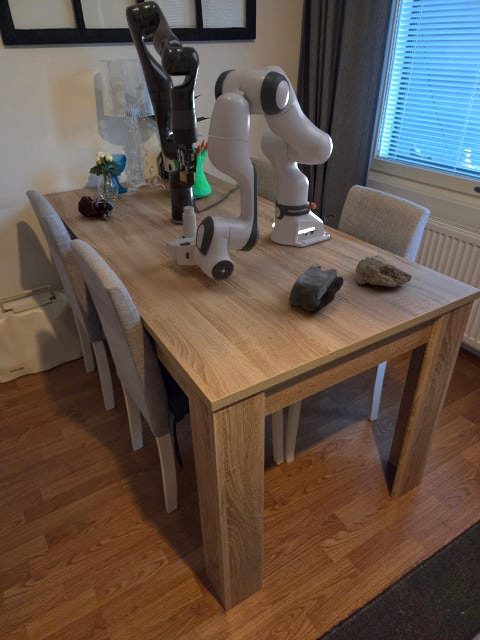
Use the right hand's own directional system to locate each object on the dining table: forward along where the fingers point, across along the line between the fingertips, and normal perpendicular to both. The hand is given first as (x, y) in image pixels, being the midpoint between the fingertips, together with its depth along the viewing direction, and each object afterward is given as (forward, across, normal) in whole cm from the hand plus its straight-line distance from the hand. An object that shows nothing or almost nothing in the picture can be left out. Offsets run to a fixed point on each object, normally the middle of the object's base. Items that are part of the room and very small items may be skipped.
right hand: (189, 236), depth 151 cm
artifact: (-42, -47, +7) cm, 63 cm away
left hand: (-1, 0, -18) cm, 18 cm away
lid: (-1, 0, -21) cm, 21 cm away
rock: (-46, -22, +7) cm, 51 cm away
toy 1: (+53, +23, +7) cm, 58 cm away
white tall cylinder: (-1, 0, +7) cm, 7 cm away
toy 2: (+69, -24, +7) cm, 73 cm away
